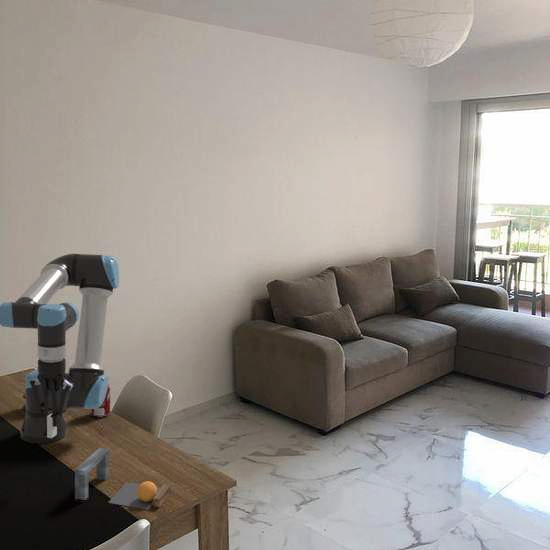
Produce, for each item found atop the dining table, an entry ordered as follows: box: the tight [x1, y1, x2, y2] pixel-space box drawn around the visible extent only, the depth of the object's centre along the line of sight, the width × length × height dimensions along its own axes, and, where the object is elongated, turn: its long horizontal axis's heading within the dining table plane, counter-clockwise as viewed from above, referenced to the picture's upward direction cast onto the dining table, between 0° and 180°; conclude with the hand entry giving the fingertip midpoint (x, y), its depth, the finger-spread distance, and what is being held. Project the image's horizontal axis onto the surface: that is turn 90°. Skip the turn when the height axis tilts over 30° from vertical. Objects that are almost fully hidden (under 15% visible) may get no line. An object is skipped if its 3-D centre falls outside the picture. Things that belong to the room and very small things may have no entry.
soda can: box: [91, 383, 111, 418], centre depth 233 cm, size 7×7×12 cm
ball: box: [137, 480, 158, 502], centre depth 176 cm, size 6×6×6 cm
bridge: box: [74, 447, 110, 501], centre depth 180 cm, size 3×14×9 cm, turn 168°
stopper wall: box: [152, 484, 171, 508], centre depth 177 cm, size 2×8×2 cm, turn 168°
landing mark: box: [107, 481, 162, 511], centre depth 178 cm, size 12×12×1 cm
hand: (52, 435), depth 181 cm, fingers closed
